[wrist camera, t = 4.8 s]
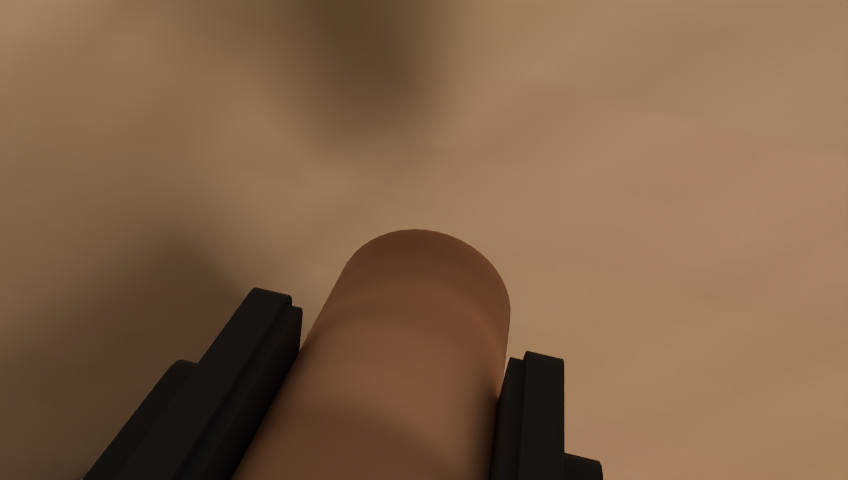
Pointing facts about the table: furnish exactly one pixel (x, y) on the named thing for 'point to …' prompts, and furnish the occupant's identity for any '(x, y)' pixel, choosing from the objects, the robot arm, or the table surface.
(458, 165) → the table surface
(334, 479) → the dowel
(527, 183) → the table surface
